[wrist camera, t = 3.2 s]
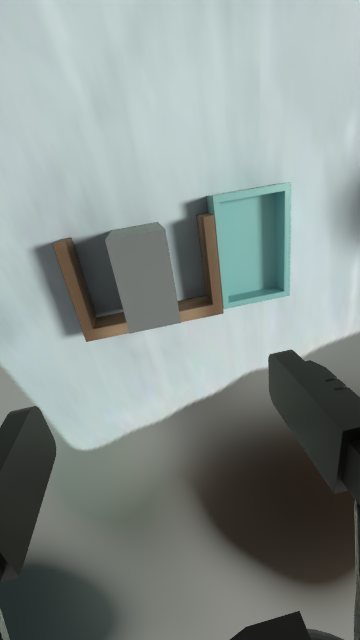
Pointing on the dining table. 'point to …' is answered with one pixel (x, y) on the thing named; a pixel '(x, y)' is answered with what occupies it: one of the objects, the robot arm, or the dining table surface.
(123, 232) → the chamfered grey block
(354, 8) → the dining table surface
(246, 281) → the teal tray
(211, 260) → the walnut bay
